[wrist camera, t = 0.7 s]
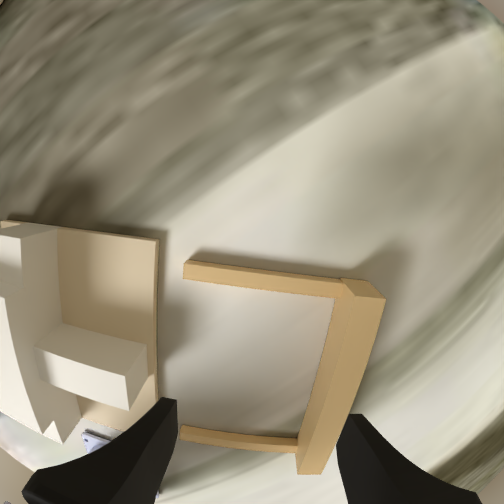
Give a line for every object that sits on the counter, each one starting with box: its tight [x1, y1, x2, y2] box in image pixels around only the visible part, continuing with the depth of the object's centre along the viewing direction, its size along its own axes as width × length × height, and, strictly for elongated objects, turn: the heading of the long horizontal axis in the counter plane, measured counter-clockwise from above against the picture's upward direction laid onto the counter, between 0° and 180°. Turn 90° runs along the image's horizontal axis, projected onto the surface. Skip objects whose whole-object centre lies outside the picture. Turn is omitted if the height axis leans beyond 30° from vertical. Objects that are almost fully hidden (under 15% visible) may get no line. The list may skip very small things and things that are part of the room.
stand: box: [0, 220, 160, 444], centre depth 18 cm, size 15×18×7 cm
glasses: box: [180, 260, 386, 475], centre depth 20 cm, size 12×16×4 cm
